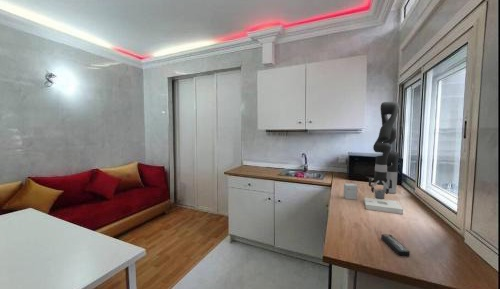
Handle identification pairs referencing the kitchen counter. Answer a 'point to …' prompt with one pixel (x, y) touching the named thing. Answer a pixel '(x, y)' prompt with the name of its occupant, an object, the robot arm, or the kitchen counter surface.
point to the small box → (350, 191)
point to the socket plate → (383, 205)
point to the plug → (379, 194)
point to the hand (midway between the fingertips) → (379, 193)
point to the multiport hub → (395, 245)
